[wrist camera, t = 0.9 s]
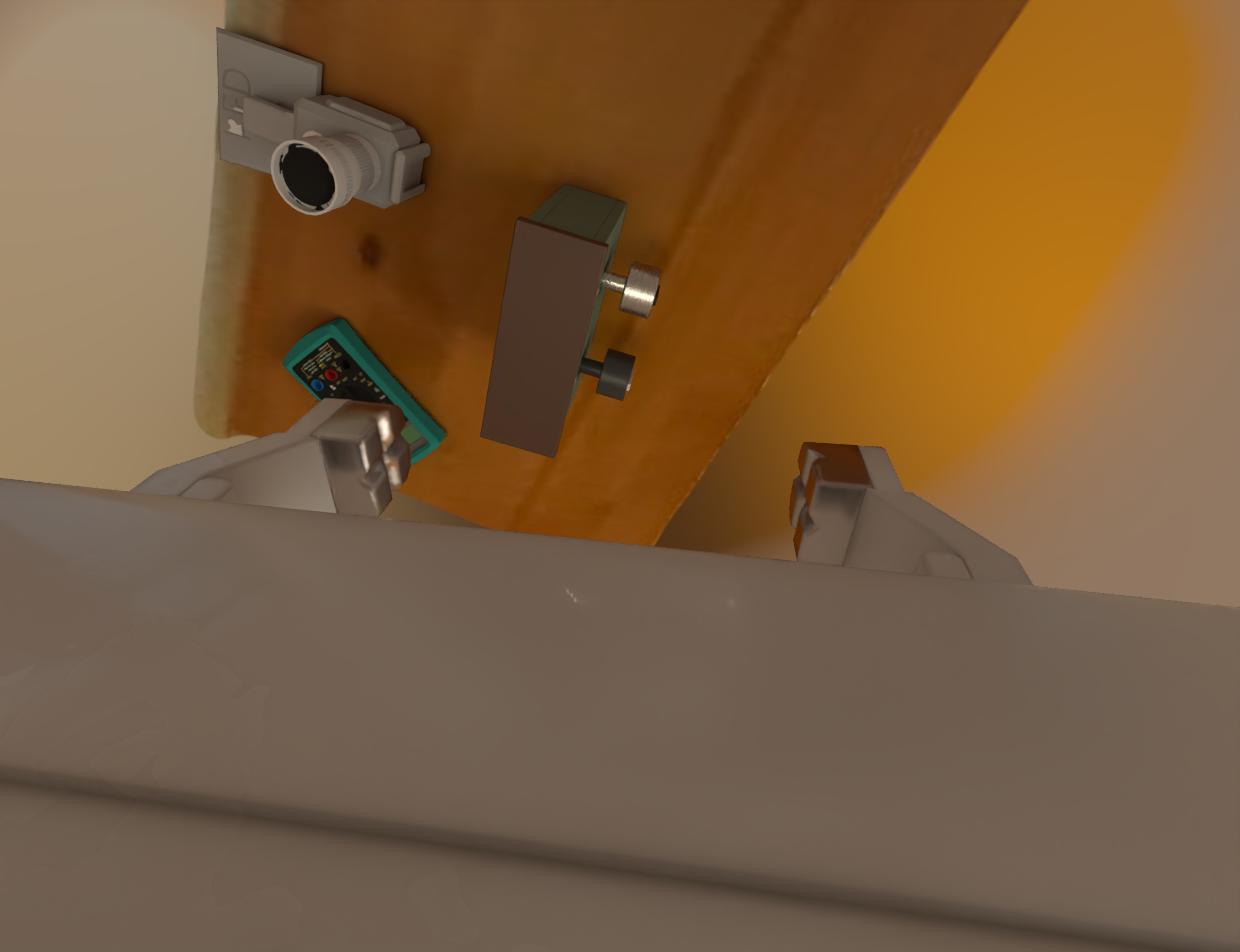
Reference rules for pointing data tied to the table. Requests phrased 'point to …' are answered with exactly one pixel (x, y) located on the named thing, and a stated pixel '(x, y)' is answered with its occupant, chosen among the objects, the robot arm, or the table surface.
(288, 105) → the camera
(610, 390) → the black knob
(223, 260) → the table surface
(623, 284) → the steel knob
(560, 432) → the console
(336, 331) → the digital multimeter
